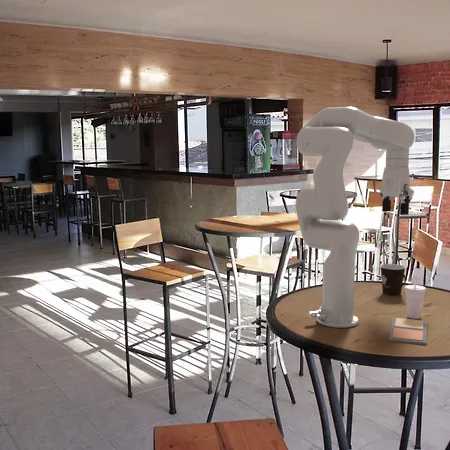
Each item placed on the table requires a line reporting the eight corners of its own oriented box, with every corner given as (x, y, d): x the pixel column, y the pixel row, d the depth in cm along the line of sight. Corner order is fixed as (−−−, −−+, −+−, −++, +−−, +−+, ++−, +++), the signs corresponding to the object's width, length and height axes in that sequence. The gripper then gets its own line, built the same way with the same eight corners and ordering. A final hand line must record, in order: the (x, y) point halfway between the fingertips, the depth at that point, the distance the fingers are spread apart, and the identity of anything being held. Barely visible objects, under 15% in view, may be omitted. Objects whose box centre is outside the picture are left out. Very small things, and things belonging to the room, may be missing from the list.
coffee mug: (378, 289, 215) (379, 263, 213) (402, 290, 214) (403, 264, 212) (382, 298, 204) (383, 271, 202) (407, 299, 202) (408, 271, 201)
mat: (426, 344, 159) (426, 341, 158) (388, 340, 162) (388, 337, 162) (427, 322, 177) (427, 319, 177) (393, 319, 180) (393, 316, 180)
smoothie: (401, 318, 182) (403, 274, 179) (405, 312, 187) (407, 270, 185) (422, 321, 179) (424, 277, 177) (426, 315, 184) (428, 272, 182)
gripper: (372, 162, 205) (371, 210, 207) (404, 164, 189) (402, 216, 192) (390, 162, 208) (388, 209, 210) (423, 164, 192) (420, 215, 194)
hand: (395, 212), depth 201 cm, fingers open, 9 cm apart
